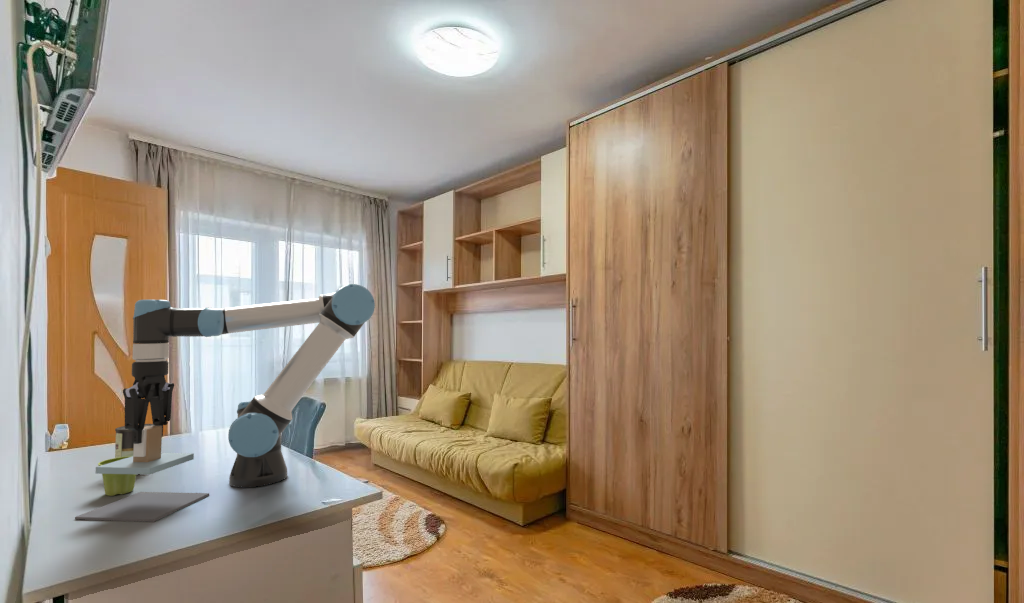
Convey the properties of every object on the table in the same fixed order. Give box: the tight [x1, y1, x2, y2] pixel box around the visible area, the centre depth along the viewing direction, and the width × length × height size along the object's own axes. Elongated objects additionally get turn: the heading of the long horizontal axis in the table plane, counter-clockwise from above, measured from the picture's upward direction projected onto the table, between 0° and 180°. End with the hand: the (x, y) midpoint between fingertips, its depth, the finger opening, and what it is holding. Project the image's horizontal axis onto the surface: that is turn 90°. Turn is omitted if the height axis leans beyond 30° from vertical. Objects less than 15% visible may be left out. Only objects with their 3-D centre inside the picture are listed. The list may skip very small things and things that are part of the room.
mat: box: [74, 491, 210, 523], centre depth 124 cm, size 20×18×1 cm
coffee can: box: [114, 423, 154, 476], centre depth 156 cm, size 10×10×14 cm
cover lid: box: [95, 426, 195, 476], centre depth 125 cm, size 14×14×10 cm
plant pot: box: [97, 456, 137, 497], centre depth 136 cm, size 9×9×9 cm
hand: (147, 453), depth 124 cm, fingers closed on cover lid, 4 cm apart
